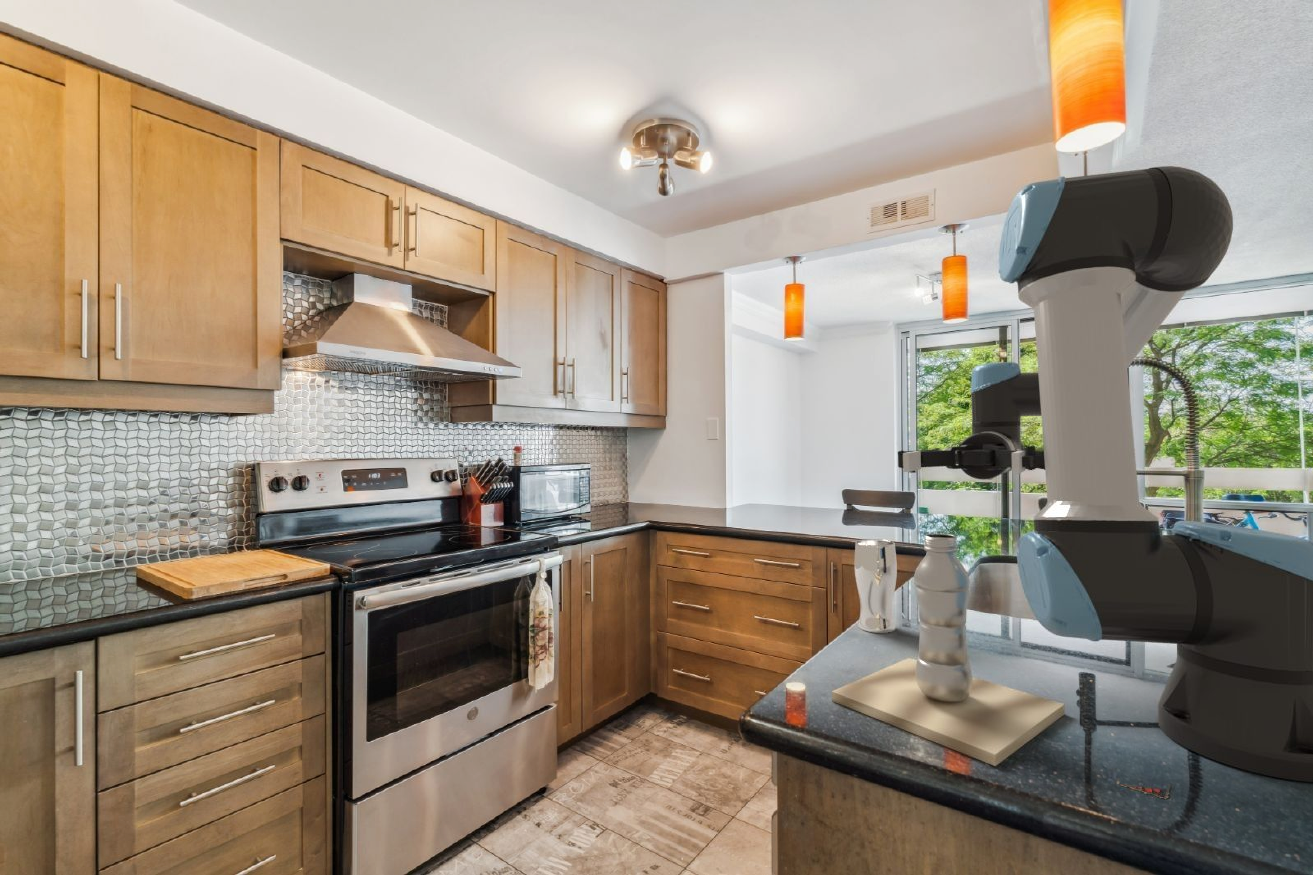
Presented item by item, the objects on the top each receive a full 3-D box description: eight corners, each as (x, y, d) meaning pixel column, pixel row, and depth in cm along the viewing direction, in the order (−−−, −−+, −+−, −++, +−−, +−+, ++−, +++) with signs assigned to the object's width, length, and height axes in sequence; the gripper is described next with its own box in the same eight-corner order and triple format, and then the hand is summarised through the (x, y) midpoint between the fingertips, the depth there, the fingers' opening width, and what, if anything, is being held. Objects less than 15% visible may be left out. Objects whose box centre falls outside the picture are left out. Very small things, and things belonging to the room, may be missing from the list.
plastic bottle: (913, 703, 74) (909, 538, 74) (918, 682, 80) (914, 530, 80) (972, 713, 71) (969, 541, 71) (973, 691, 77) (970, 533, 77)
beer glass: (891, 621, 109) (889, 538, 109) (903, 634, 103) (901, 545, 102) (851, 621, 110) (850, 538, 110) (861, 634, 103) (859, 546, 103)
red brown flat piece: (1166, 779, 60) (1166, 774, 60) (1178, 807, 55) (1178, 802, 55) (1107, 767, 62) (1107, 762, 62) (1114, 793, 58) (1114, 788, 58)
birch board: (1064, 714, 73) (1064, 704, 73) (995, 766, 62) (995, 754, 62) (908, 666, 89) (908, 657, 89) (831, 700, 78) (831, 691, 78)
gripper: (1078, 479, 92) (1068, 493, 75) (907, 476, 107) (866, 487, 91) (1077, 430, 92) (1067, 433, 75) (906, 433, 107) (865, 437, 91)
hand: (957, 462), depth 83 cm, fingers open, 13 cm apart
